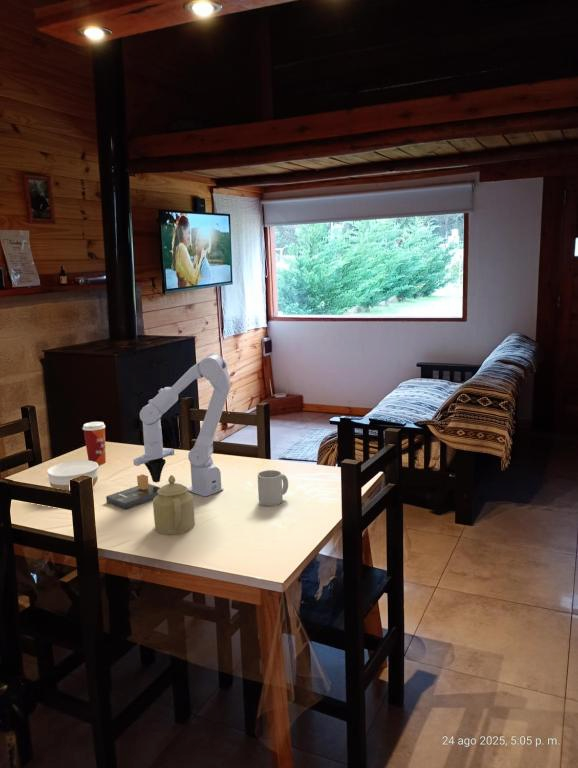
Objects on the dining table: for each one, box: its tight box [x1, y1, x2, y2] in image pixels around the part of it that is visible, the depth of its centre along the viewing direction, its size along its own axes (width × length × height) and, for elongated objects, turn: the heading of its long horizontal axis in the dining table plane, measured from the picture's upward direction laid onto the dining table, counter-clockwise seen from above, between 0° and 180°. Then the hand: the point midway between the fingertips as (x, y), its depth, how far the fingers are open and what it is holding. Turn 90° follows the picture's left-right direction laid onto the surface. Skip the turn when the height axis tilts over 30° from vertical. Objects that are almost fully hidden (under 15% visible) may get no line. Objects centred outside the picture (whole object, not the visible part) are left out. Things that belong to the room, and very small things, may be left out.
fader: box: [136, 474, 150, 490], centre depth 202 cm, size 3×2×4 cm, turn 48°
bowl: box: [46, 459, 99, 491], centre depth 208 cm, size 16×16×8 cm
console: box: [105, 483, 161, 511], centre depth 199 cm, size 10×15×2 cm, turn 138°
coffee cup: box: [81, 421, 107, 466], centre depth 237 cm, size 8×8×15 cm
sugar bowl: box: [152, 474, 196, 535], centre depth 175 cm, size 15×11×15 cm
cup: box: [257, 469, 289, 507], centre depth 193 cm, size 7×10×9 cm
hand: (156, 481), depth 206 cm, fingers closed
